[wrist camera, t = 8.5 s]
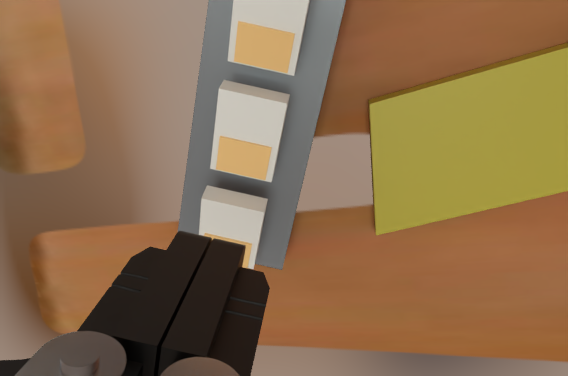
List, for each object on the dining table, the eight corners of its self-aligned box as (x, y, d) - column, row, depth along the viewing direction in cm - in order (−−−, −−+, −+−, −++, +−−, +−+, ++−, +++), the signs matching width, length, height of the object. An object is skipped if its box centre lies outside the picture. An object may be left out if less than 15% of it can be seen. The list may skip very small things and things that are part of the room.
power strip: (245, -181, 36) (230, -208, 31) (379, -151, 36) (387, -173, 31) (187, 226, 49) (170, 254, 44) (285, 248, 49) (280, 279, 44)
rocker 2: (223, 79, 37) (218, 89, 35) (289, 94, 37) (286, 104, 35) (215, 158, 41) (209, 170, 39) (274, 171, 41) (271, 183, 39)
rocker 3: (206, 185, 40) (200, 200, 38) (267, 198, 40) (263, 214, 38) (202, 243, 44) (196, 258, 43) (256, 255, 44) (253, 270, 43)
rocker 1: (242, -45, 33) (236, -37, 32) (315, -29, 33) (312, -20, 32) (232, 51, 38) (226, 62, 36) (296, 66, 38) (293, 77, 36)
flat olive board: (636, 21, 39) (341, 106, 44) (652, 23, 37) (341, 112, 42) (644, 160, 43) (374, 224, 48) (659, 169, 41) (376, 235, 46)
